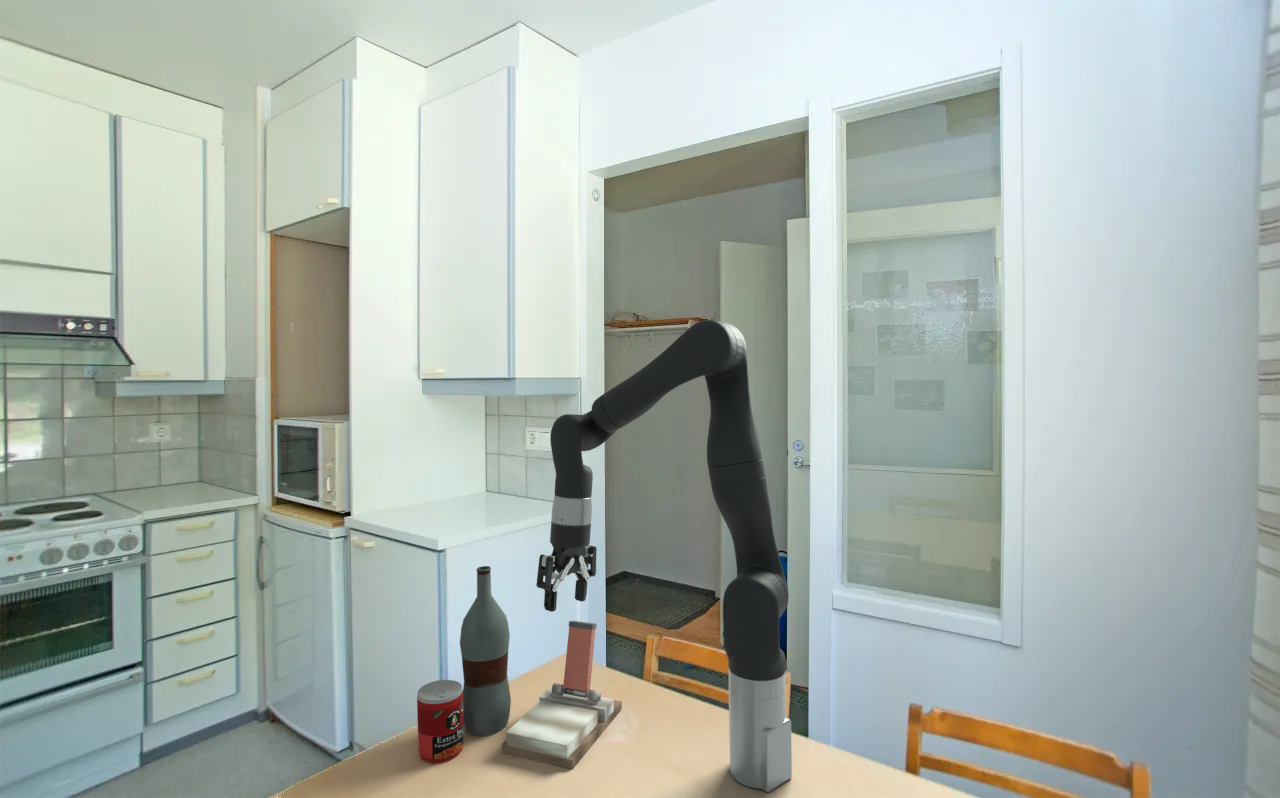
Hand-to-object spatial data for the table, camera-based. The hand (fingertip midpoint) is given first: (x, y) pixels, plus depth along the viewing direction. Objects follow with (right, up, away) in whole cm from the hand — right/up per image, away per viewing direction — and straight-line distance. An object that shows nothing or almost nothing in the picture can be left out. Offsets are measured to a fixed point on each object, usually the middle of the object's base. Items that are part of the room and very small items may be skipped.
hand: (565, 605), depth 119 cm
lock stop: (+2, -18, +3) cm, 18 cm away
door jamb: (0, -23, -1) cm, 23 cm away
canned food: (-21, -24, -8) cm, 33 cm away
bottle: (-15, -23, +1) cm, 28 cm away
